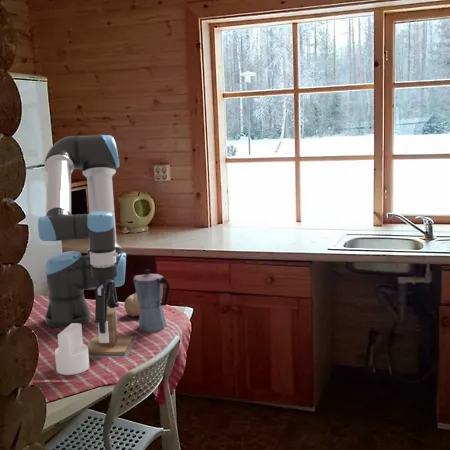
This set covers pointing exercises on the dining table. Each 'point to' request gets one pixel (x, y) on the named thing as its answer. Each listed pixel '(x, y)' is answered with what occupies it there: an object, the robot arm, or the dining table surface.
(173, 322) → the dining table surface
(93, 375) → the dining table surface
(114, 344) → the walnut lid
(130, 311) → the fruit
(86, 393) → the dining table surface
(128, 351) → the rubber mat
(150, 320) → the moka pot
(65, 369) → the cylinder with rectangular tab
